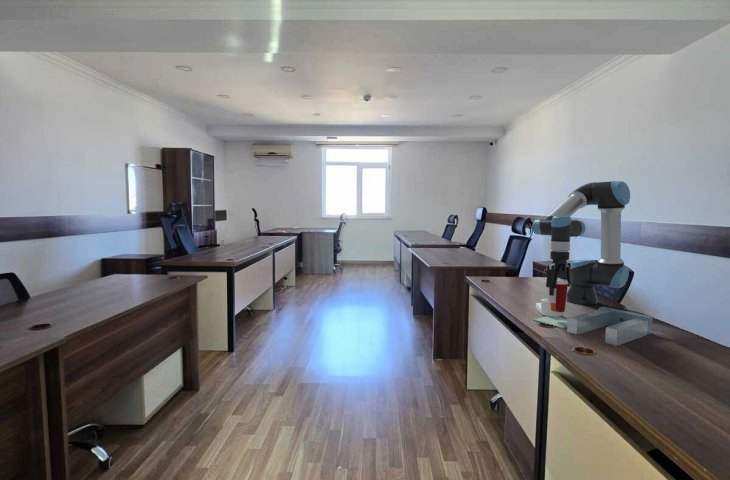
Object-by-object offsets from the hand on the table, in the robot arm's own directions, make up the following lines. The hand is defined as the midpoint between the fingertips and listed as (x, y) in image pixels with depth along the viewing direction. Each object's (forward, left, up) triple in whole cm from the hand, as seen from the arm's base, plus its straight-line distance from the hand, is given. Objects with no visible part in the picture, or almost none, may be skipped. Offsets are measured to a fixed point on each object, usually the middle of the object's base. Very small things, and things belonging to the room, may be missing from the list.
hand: (557, 301), depth 171 cm
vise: (-8, +20, -9) cm, 24 cm away
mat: (0, 0, -9) cm, 9 cm away
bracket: (-12, -12, -9) cm, 19 cm away
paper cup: (0, 0, -4) cm, 4 cm away
